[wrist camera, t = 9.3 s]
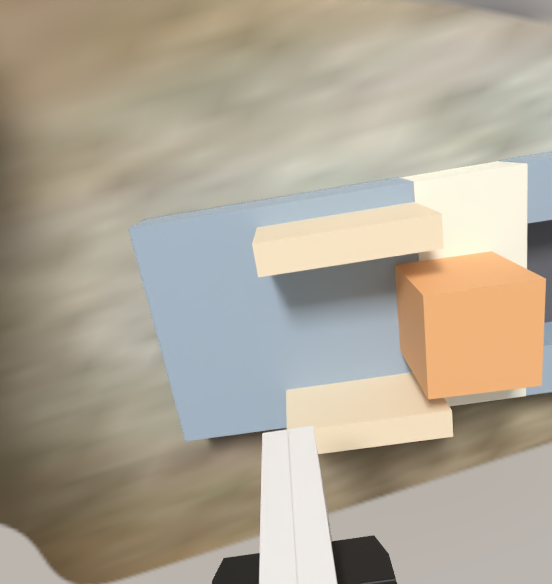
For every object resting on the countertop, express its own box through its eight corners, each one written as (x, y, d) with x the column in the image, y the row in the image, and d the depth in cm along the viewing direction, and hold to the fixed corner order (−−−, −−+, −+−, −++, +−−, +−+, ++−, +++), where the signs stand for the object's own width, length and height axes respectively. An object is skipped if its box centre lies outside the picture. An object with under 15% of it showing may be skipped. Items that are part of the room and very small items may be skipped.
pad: (414, 383, 29) (429, 409, 26) (398, 178, 25) (413, 182, 22) (501, 370, 29) (525, 396, 26) (499, 161, 25) (527, 163, 22)
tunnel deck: (194, 413, 30) (169, 490, 23) (145, 219, 26) (98, 245, 19) (631, 352, 28) (739, 417, 22) (650, 135, 24) (790, 131, 18)
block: (400, 350, 25) (428, 399, 20) (394, 264, 24) (422, 295, 19) (491, 339, 25) (542, 385, 20) (491, 251, 23) (546, 278, 18)
